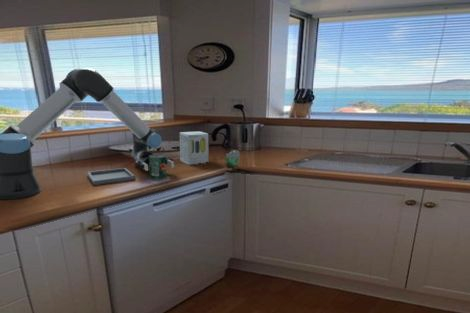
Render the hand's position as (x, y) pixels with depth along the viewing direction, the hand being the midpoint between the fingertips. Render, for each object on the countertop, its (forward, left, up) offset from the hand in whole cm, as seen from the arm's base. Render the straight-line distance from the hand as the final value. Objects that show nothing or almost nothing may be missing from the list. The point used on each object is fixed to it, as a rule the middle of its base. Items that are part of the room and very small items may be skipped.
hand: (160, 166), depth 145 cm
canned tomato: (+3, +2, -7) cm, 8 cm away
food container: (+26, -32, -7) cm, 41 cm away
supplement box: (+41, -6, -7) cm, 42 cm away
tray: (-1, +24, -6) cm, 25 cm away
